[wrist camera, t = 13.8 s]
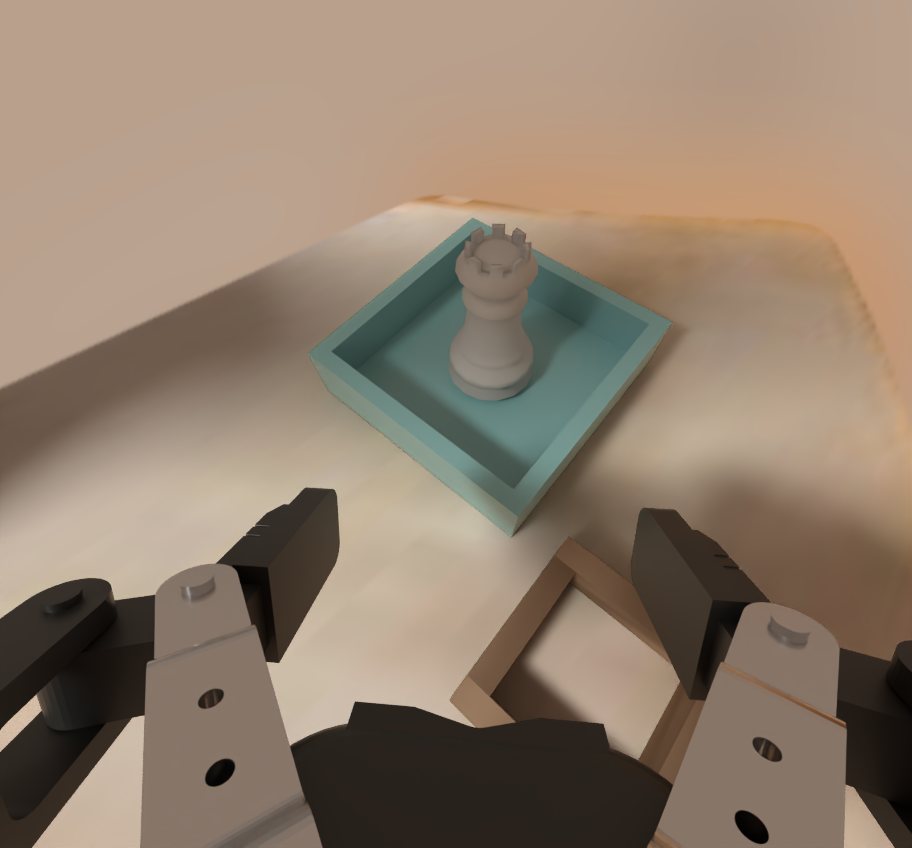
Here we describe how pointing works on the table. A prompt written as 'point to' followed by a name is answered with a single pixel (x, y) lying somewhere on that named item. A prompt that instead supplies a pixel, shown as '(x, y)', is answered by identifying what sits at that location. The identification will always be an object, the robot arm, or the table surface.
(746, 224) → the table surface
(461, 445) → the tray
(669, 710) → the socket collar
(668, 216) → the table surface
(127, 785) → the table surface
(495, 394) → the rook chess piece
